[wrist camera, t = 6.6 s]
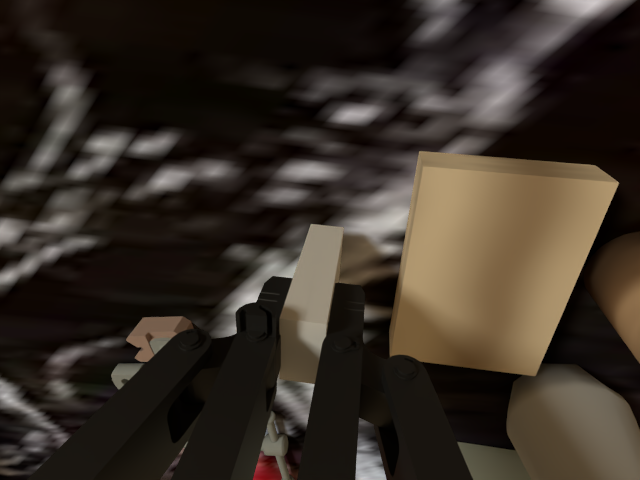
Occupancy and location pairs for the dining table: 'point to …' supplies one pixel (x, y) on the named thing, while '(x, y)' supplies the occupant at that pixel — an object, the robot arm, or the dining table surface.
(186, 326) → the clamp
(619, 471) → the salt shaker
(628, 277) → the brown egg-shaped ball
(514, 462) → the tray
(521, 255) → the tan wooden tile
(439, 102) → the dining table surface
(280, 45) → the dining table surface
